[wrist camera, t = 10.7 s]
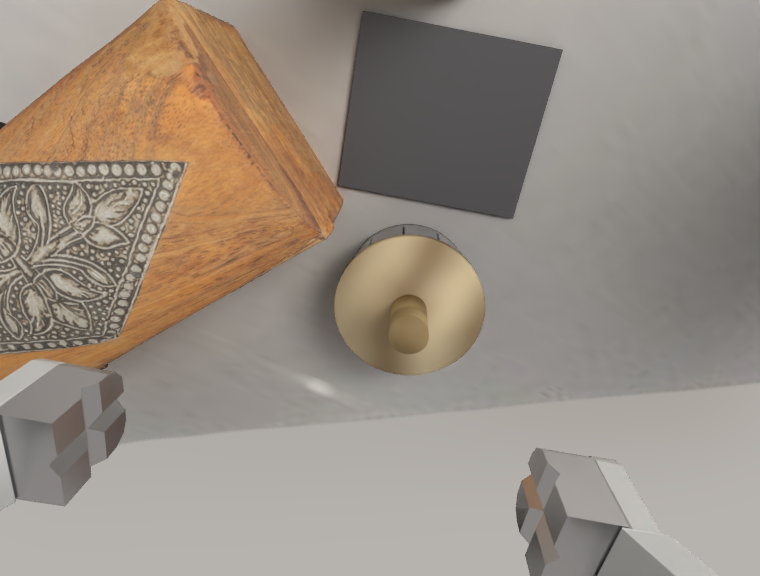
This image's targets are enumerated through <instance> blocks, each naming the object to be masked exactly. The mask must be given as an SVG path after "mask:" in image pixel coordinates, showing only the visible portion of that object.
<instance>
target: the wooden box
mask: <svg viewBox="0 0 760 576" xmlns="http://www.w3.org/2000/svg"><path fill="white" fill-rule="evenodd" d="M342 203H343V198H342V197H341V195H340V194H339V192H338V191H337V189H336V187H335V186H334V184H333V182H332V181H331V179H330V178H329V176H328V174H327V173H326V171H325V170H324V168H323V166H322V165H321V163H320V161H319V160H318V158H317V156H316V155H315V153H314V152H313V150H312V149H311V147H310V145H309V144H308V142H307V141H306V139H305V137H304V136H303V134H302V133H301V131H300V129H299V128H298V126H297V125H296V123H295V122H294V120H293V118H292V117H291V115H290V114H289V112H288V111H287V109H286V107H285V106H284V104H283V103H282V101H281V100H280V98H279V97H278V95H277V93H276V92H275V90H274V89H273V87H272V85H271V84H270V82H269V81H268V79H267V78H266V76H265V74H264V73H263V71H262V70H261V68H260V67H259V65H258V64H257V62H256V61H255V59H254V57H253V56H252V54H251V53H250V51H249V50H248V48H247V47H246V45H245V43H244V42H243V40H242V38H241V37H240V35H239V34H238V32H237V30H236V29H235V28H234V27H233V26H232V25H230V24H228V23H226V22H224V21H222V20H220V19H217V18H215V17H213V16H211V15H209V14H207V13H205V12H203V11H201V10H198V9H196V8H194V7H192V6H190V5H188V4H186V3H183V2H180V1H178V0H160V1H158V2H157V3H156V4H154V5H153V6H152V7H151V8H150V9H149V10H148V11H146V12H145V13H144V14H143V15H142V16H141V17H140V18H139V19H138V20H136V21H135V22H134V23H133V24H131V25H130V26H129V27H128V28H127V29H125V30H124V31H123V32H122V33H121V34H119V35H118V36H117V37H116V38H115V39H113V40H112V41H111V42H109V43H108V44H107V45H105V46H104V47H103V48H101V49H100V50H99V51H97V52H96V53H95V54H93V55H92V56H91V57H89V58H88V59H87V60H85V61H84V62H83V63H81V64H80V65H78V66H77V67H76V68H74V69H73V70H72V71H71V72H70V73H68V74H67V75H66V76H64V77H63V78H62V79H61V80H59V81H58V82H57V83H56V84H55V85H53V86H52V87H51V88H50V89H49V90H47V91H46V92H45V93H44V94H43V95H41V96H40V97H39V98H38V99H36V100H35V101H34V102H33V103H32V104H30V105H29V106H28V107H27V108H26V109H24V110H23V111H22V112H21V113H19V114H18V115H17V116H16V117H15V118H13V119H12V120H11V121H10V122H8V123H7V124H5V123H3V122H0V381H1V380H2V379H4V378H5V377H7V376H8V375H10V374H11V373H13V372H14V371H16V370H18V369H19V368H21V367H22V366H24V365H25V364H27V363H28V362H30V361H31V360H34V359H41V358H44V359H49V360H54V361H59V362H64V363H71V364H76V365H81V366H86V367H91V368H96V369H101V370H102V369H104V368H106V367H107V366H108V363H110V362H111V361H113V360H115V359H116V358H118V357H120V356H122V355H123V354H125V353H127V352H128V351H130V350H132V349H133V348H135V347H137V346H139V345H140V344H142V343H144V342H145V341H147V340H148V339H150V338H152V337H154V336H155V335H157V334H159V333H161V332H162V331H164V330H166V329H167V328H169V327H171V326H173V325H174V324H176V323H178V322H180V321H181V320H183V319H185V318H186V317H188V316H190V315H192V314H193V313H195V312H197V311H199V310H200V309H202V308H204V307H206V306H207V305H209V304H211V303H213V302H215V301H216V300H218V299H220V298H222V297H224V296H225V295H227V294H229V293H230V292H233V291H235V290H237V289H238V288H241V287H242V286H244V285H245V284H247V283H249V282H251V281H252V280H254V279H255V278H257V277H259V276H261V275H263V274H265V273H266V272H268V271H270V270H271V269H272V268H274V267H276V266H278V265H279V264H281V263H283V262H285V261H286V260H288V259H290V258H292V257H294V256H296V255H297V254H299V253H301V252H303V251H305V250H306V249H308V248H310V247H312V246H314V245H315V244H317V243H319V242H321V241H323V240H325V239H327V237H328V236H329V235H330V234H331V232H332V231H333V229H334V226H333V223H334V222H335V219H336V217H337V215H338V213H339V211H340V209H341V207H342Z"/></svg>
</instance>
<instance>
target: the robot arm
mask: <svg viewBox="0 0 760 576" xmlns="http://www.w3.org/2000/svg"><path fill="white" fill-rule="evenodd" d="M123 391H124V389H123V382H122V377H121V376H120V375H119V374H117V373H116V372H111V371H106V370H101V369H96V368H91V367H86V366H81V365H76V364H71V363H64V362H59V361H54V360H49V359H44V358H41V359H34V360H31V361H30V362H28V363H27V364H25V365H24V366H22V367H21V368H19V369H18V370H16V371H14V372H13V373H11V374H10V375H8V376H7V377H5V378H4V379H2V380H1V381H0V510H2V509H4V508H5V507H7V506H9V505H11V504H13V503H14V502H15V501H16V499H20V500H27V501H33V502H40V503H47V504H53V505H60V506H65V505H66V504H67V503H68V502H69V501H70V500H71V499H72V498H73V496H74V495H75V494H76V493H77V492H78V491H79V489H80V488H81V487H82V486H83V485H84V484H85V483H86V482H87V481H88V479H89V478H90V477H91V466H92V465H94V464H96V463H98V462H101V461H103V460H105V459H107V458H108V457H109V455H110V454H111V453H112V452H113V451H114V449H115V448H116V447H117V445H118V443H119V441H120V439H121V437H122V435H123V433H124V428H125V422H126V415H125V409H124V408H123V406H122V405H121V404H120V403H119V401H118V400H117V398H118V397H119V396H120V395H121V394H122V393H123ZM528 464H529V467H530V471H531V475H530V476H529V477H527V478H525V479H524V480H522V482H521V485H520V488H519V491H518V494H517V503H516V515H517V523H518V527H519V532H520V534H521V535H522V536H523V537H524V538H525V539H526V540H527V542H528V543H529V547H528V549H527V552H526V554H525V557H526V560H527V564H528V568H529V572H530V576H719V575H717V574H716V573H715V572H714V571H713V570H712V569H710V568H709V567H708V566H707V565H705V564H704V563H703V562H701V560H699V559H698V558H697V557H696V556H694V555H693V554H692V553H691V552H690V551H688V550H687V549H686V548H685V547H684V546H682V545H681V544H680V543H679V542H677V541H676V540H675V539H674V538H673V537H671V536H667V535H662V534H661V532H660V530H659V528H658V527H657V525H656V523H655V521H654V520H653V518H652V516H651V515H650V513H649V511H648V509H647V508H646V506H645V504H644V502H643V501H642V499H641V497H640V496H639V494H638V492H637V490H636V489H635V487H634V485H633V484H632V482H631V480H630V478H629V477H628V475H627V473H626V472H625V470H624V468H623V466H622V465H621V464H620V463H619V462H617V461H616V460H611V459H605V458H598V457H592V456H589V457H586V456H581V455H575V454H569V453H564V452H558V451H552V450H546V449H540V448H536V450H535V451H534V452H533V453H532V456H531V458H530V460H529V463H528Z"/></svg>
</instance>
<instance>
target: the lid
mask: <svg viewBox="0 0 760 576" xmlns="http://www.w3.org/2000/svg"><path fill="white" fill-rule="evenodd" d="M334 313H335V319H336V324H337V327H338V329H339V332H340V334H341V336H342V338H343V340H344V341H345V343H346V344H347V345H348V347H349V348H350V349H351V350H352V351H353V352H354V353H355V354H356V355H357V356H358V357H359V358H360V359H362V360H363V361H365V362H366V363H368V364H369V365H371V366H373V367H375V368H377V369H380V370H383V371H385V372H389V373H393V374H400V375H421V374H426V373H431V372H434V371H437V370H440V369H442V368H444V367H447V366H449V365H450V364H452V363H453V362H455V361H457V360H458V359H459V358H460V357H462V356H463V355H464V354H465V353H466V352H467V351H468V350H469V349H470V347H471V346H472V345H473V343H474V342H475V340H476V338H477V337H478V335H479V333H480V330H481V328H482V325H483V320H484V316H485V298H484V293H483V289H482V286H481V283H480V281H479V278H478V276H477V274H476V272H475V270H474V269H473V267H472V265H471V264H470V263H469V262H468V260H467V259H466V258H465V257H464V256H463V255H462V254H461V253H460V252H459V251H457V250H456V249H455V248H453V247H452V246H450V245H448V244H447V243H445V242H443V241H440V240H438V239H435V238H432V237H428V236H424V235H416V234H403V235H395V236H391V237H387V238H383V239H381V240H379V241H376V242H374V243H372V244H371V245H369V246H367V247H366V248H364V249H363V250H362V251H360V252H359V253H358V254H357V255H356V256H355V257H354V258H353V259H352V260H351V261H350V263H349V264H348V265H347V267H346V268H345V270H344V272H343V274H342V276H341V278H340V281H339V284H338V286H337V289H336V294H335V300H334Z"/></svg>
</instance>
